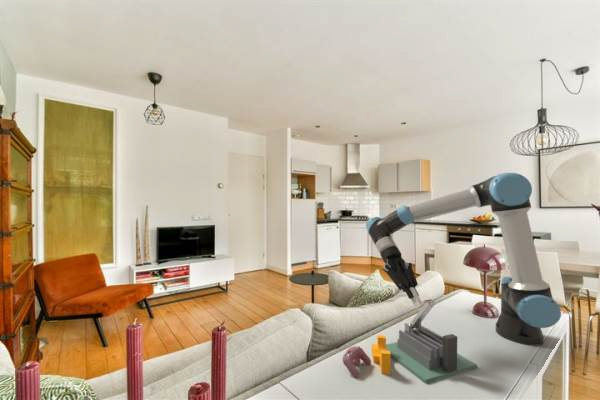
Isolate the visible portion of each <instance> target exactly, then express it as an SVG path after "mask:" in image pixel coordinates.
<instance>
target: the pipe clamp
mask: <svg viewBox="0 0 600 400" xmlns="http://www.w3.org/2000/svg"><path fill="white" fill-rule="evenodd" d="M376 339H377V340H376V343H371V355H372V361H373V364H379V368H380V373H381V375H389V376H391V360H392V359H391V358H392V357H391V354H390V351H386V344H387V343H386V341H387V338H386V335H382V334H377V336H376Z"/></svg>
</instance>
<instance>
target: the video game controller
mask: <svg viewBox="0 0 600 400" xmlns="http://www.w3.org/2000/svg"><path fill="white" fill-rule="evenodd" d="M361 361H362V362H363V363H364V364H366V365H368V366H370V365H372V360H371V358H370V356H368V354H366V352H365V351H364V349H363V348H362V347H360V346H359V345H355V346H351V347H348V349H347V350H346V351H345V353H344V354H343V355H342V363H343V365H344V366H345V367H346V369H347V370H348V372H349V373H350V374H351V375H352V376H353V377H354V378H359V376H360V372H359V370H358V369H357V366H360V365H361Z"/></svg>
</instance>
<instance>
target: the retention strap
mask: <svg viewBox="0 0 600 400" xmlns="http://www.w3.org/2000/svg"><path fill="white" fill-rule="evenodd" d="M422 303H423V305H422V306H421V307H420V310H419V311H418V312H417V314H416V315H415V316H414V317H413V319H412V320H411V321H410V322H409V324H410V325H411V329H415V328H418V325H419V324H420V323H421V324H422V322H423V320H424V319H425V318H426V316H427V315H428V314H429V313H430V311H431V310H432V309H433V307H434V306H435V305H436V302H435V301H434V300H433V299H425V300H424V301H423V302H422Z"/></svg>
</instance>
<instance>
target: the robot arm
mask: <svg viewBox="0 0 600 400" xmlns="http://www.w3.org/2000/svg"><path fill="white" fill-rule="evenodd" d="M532 187H533V186H532V184H531V182H530V180H529V179H528V178H527V177H525V176H524V175H522V174H520V173H517V172H503V173H500V174H497V175H494V176H491V177H490V178H488V179H485V180H483V181H481V182H478V183H476V184H473V185H470V186H469V188H468V189H465V190H461V191H458V192H454V193H450V194H447V195H444V196H440V197H437V198H433V199H429V200H426V201H424V202H420V203H416V204H414V205H409V206H407V205H402V206H400V207H399V208H397V209H395V210H394V211H392V212H390V213H389V214H388V215H386V216H385V217H382V218H381V217H378V216H374V217H371V218H369V219H368V220H367V221H366V223H365V228H366V230H367V233H368V235H369V236H370V238H371V240H372V242H373V244H374V245H375V248H376V249H377V251H378V253H379V255H380V258H381V259H382V261H383V263H384V264H385V265H384V266H383V267H382V271H384V273H386V274H387V275H388V277H389V278H390V279H391V280H392V282H393V283H394V285H395V286H396V287H397V289H398V290H399V291H401V290H402V291H401V292H403V293H405V294H406V295H407V298H408V299H410V301H411V302H412V304H413V306H414V308H415V309H420V308H422V307H423V306H424V303H423V302H422V300H421V298H420V295H419V292H418V291H417V289H416V287H417V286H418V285H419V283H418V280H417V278H416V275H415V272H414V269H413V264H412V262H409V263H408V262H406V260H405V259H404V258H403V257H402V252H401V251H400V249H399V247H398V246H397V244H396V242H395V240H394V239H393V237H392V234H394V233H396V232H397V231H400V230H401V229H404V228H405V227H406V226H409V225H410V224H414V223H417V222H420V221H425V220H428V219H431V218H436V217H440V216H444V215H448V214H451V213H454V212H457V211H462V210H466V209H469V208H474V207H477V208H482V207H487V206H490V209H491V212H492V213H493V214H494V215H495V216H497V218H498V222H499V227H500V231H501V237H502V240H503V244H504V249H505V254H506V257H507V262H508V267H509V272H510V276H503V277H502V278H501V283H500V285H501V286H500V288H501V290H500V292H501V293H500V297H501V299H500V314H499V316H498V318H497V321H496V323H495V333H497V335H499V336H501V337H502V338H505V339H507V340H509V341H512V342H515V343H518V344H523V345H524V344H525V345H529V344H539V345H542V344H544V334H543V331H542V329H543V328H544V329H545V328H550V327H553V326H555V324H557V323H558V322H559V321H560V320H561V317H562V310H561V308H560V305H559V304H558V302H557V301H556V300H555V299H554V298H553V294H552V290H551V286H550V284H549V283H548V282H546V281H545V280H543V275H542V273H541V267H540V263H539V262H540V261H539V259H538V255H537V251H536V246H535V242H534V237H533V233H532V229H531V224H530V221H529V220H530V219H529V215H528V212H529V211H530V210H531V209H532V204H531V200H530V198H531V196H532V194H533V193H532V191H533V188H532Z"/></svg>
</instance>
